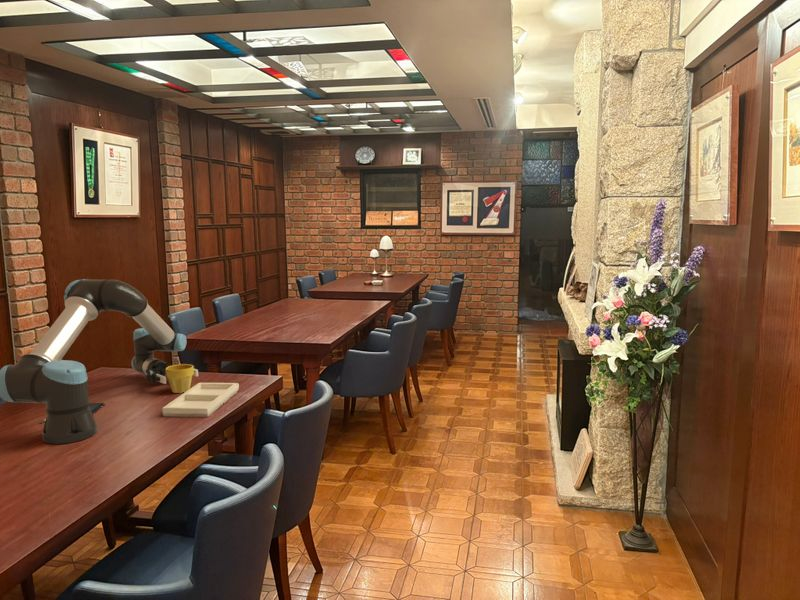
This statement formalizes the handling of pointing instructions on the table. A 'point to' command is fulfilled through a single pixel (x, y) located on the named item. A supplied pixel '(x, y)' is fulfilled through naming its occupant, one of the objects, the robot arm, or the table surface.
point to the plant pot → (180, 377)
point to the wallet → (93, 408)
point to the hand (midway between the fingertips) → (181, 376)
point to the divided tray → (201, 400)
